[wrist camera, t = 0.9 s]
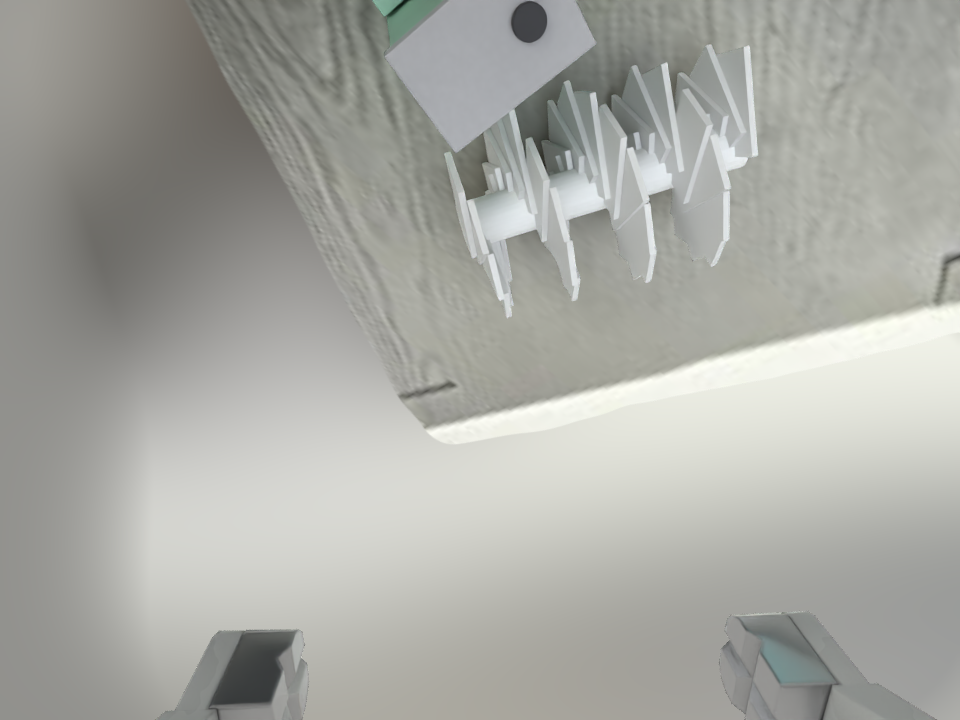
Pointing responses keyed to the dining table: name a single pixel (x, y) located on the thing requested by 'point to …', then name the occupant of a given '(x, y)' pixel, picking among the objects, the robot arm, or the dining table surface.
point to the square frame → (386, 5)
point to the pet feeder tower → (481, 56)
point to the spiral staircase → (617, 168)
